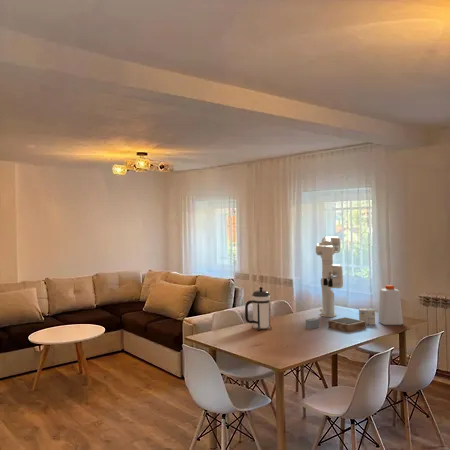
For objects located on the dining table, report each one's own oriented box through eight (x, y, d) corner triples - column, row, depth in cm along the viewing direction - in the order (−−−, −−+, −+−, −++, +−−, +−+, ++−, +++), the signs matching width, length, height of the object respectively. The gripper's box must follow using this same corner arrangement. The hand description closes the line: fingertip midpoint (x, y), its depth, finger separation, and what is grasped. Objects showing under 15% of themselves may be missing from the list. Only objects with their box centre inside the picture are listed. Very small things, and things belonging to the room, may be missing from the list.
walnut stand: (328, 327, 319) (328, 320, 319) (345, 324, 329) (345, 316, 329) (348, 332, 304) (348, 324, 304) (365, 328, 314) (365, 320, 314)
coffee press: (255, 325, 330) (254, 285, 330) (275, 327, 322) (274, 286, 322) (245, 330, 315) (244, 288, 315) (265, 332, 307) (265, 289, 307)
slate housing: (306, 328, 320) (305, 319, 320) (315, 326, 325) (315, 317, 325) (311, 329, 315) (310, 320, 315) (320, 327, 321) (320, 319, 321)
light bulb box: (373, 322, 332) (373, 308, 332) (375, 324, 325) (375, 310, 325) (358, 322, 333) (358, 308, 333) (360, 324, 326) (360, 310, 326)
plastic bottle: (397, 321, 335) (396, 284, 335) (404, 325, 320) (403, 286, 320) (377, 321, 336) (376, 284, 336) (383, 325, 321) (382, 287, 321)
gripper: (318, 262, 336) (319, 285, 335) (326, 263, 319) (327, 287, 318) (328, 262, 337) (328, 284, 336) (336, 263, 320) (337, 287, 319)
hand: (328, 286), depth 327 cm, fingers open, 9 cm apart
